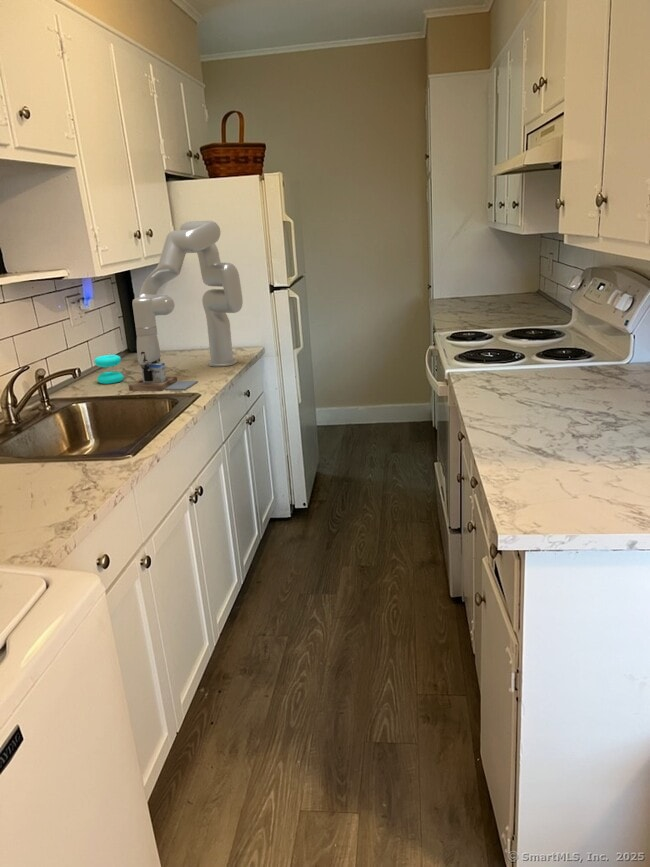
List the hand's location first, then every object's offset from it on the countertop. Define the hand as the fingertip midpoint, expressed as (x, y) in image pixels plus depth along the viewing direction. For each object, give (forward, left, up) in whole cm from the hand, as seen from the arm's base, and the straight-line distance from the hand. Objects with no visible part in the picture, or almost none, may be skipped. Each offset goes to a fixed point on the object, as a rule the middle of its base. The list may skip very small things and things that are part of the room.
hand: (152, 378), depth 246 cm
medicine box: (0, 0, -3) cm, 3 cm away
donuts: (-6, -22, -3) cm, 23 cm away
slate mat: (0, +12, -3) cm, 12 cm away
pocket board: (0, 0, -3) cm, 3 cm away
